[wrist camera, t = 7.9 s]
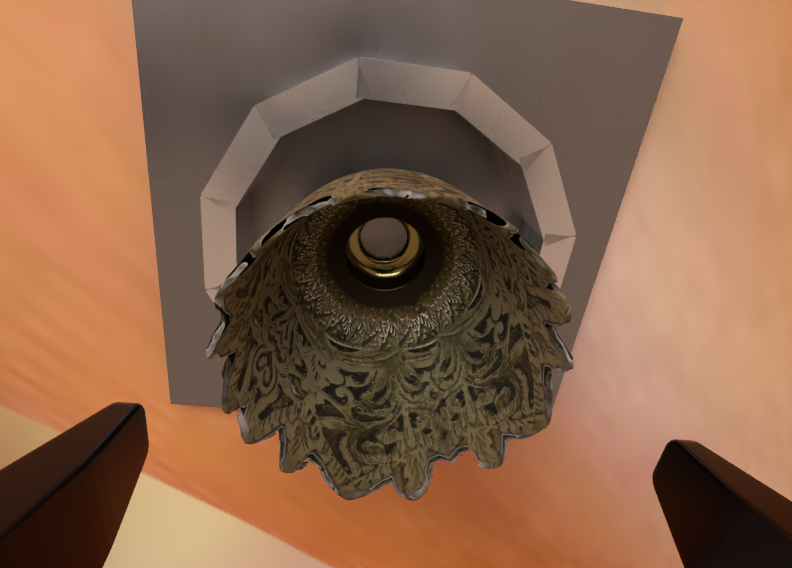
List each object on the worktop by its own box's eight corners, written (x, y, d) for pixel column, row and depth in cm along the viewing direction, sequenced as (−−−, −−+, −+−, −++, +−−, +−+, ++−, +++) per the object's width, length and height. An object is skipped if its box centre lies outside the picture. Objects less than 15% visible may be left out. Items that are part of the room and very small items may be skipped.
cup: (446, 88, 15) (518, 120, 8) (514, 283, 18) (611, 438, 11) (236, 184, 16) (123, 294, 9) (335, 353, 19) (313, 538, 12)
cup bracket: (177, 391, 20) (150, 439, 18) (138, -63, 13) (84, -91, 11) (539, 415, 22) (561, 462, 19) (668, 19, 15) (728, 12, 12)
